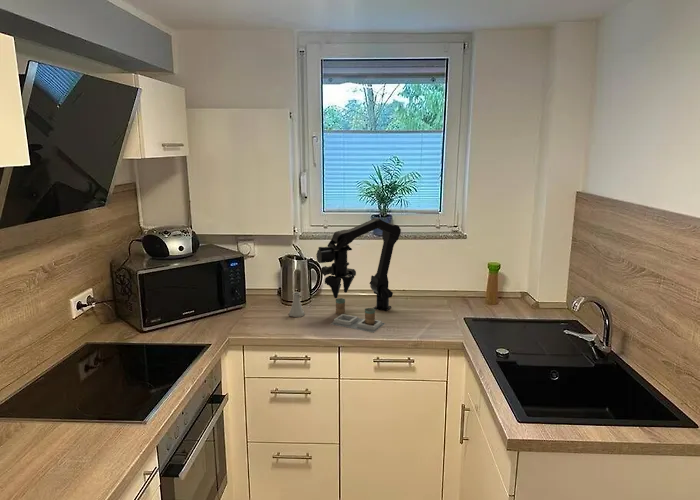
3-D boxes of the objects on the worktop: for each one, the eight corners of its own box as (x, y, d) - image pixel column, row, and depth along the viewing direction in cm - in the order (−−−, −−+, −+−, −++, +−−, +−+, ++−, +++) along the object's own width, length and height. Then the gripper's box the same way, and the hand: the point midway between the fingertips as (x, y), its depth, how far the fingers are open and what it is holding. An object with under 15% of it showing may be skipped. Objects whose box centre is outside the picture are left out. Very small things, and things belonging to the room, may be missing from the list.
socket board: (343, 317, 221) (343, 312, 220) (385, 325, 212) (385, 319, 212) (329, 326, 210) (329, 320, 210) (373, 335, 202) (373, 329, 201)
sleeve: (338, 312, 228) (338, 297, 226) (346, 314, 226) (346, 299, 224) (333, 315, 224) (333, 300, 222) (342, 317, 222) (342, 301, 221)
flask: (306, 312, 228) (306, 291, 226) (303, 317, 221) (303, 295, 219) (290, 311, 228) (290, 290, 226) (287, 317, 221) (286, 295, 219)
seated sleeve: (367, 323, 211) (367, 307, 210) (376, 325, 210) (376, 308, 208) (362, 326, 208) (363, 310, 206) (372, 328, 206) (372, 312, 204)
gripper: (334, 254, 231) (334, 287, 235) (313, 263, 215) (313, 298, 218) (356, 257, 226) (356, 290, 230) (336, 266, 210) (336, 302, 213)
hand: (340, 295), depth 223 cm, fingers open, 9 cm apart
